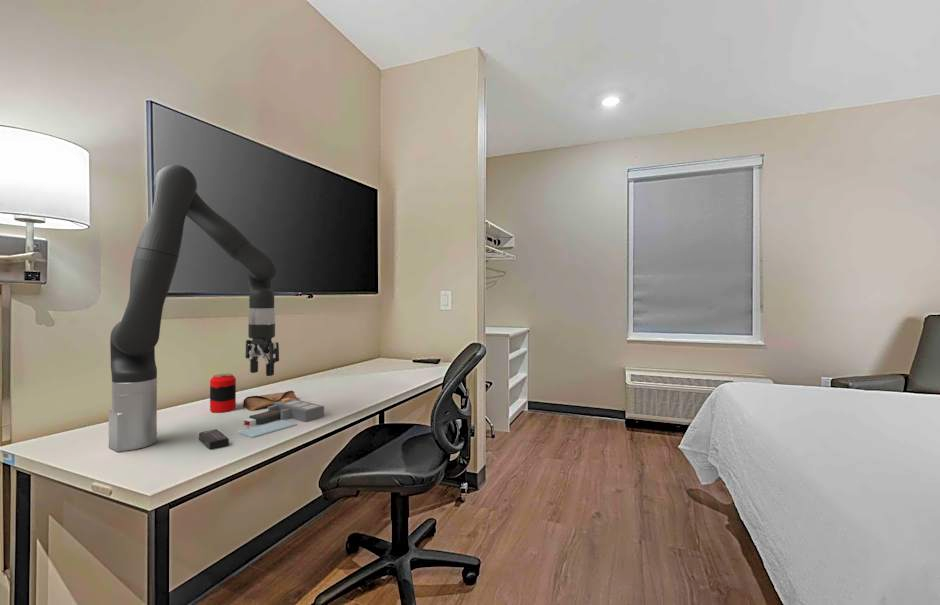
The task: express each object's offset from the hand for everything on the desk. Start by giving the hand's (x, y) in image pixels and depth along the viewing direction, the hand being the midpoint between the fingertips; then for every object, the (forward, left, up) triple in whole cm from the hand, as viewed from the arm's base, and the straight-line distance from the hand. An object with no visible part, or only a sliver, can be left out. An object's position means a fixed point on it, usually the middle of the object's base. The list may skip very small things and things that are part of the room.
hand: (261, 374), depth 130 cm
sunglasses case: (+14, +15, -16) cm, 26 cm away
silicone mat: (-3, -8, -15) cm, 18 cm away
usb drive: (+1, 0, -16) cm, 16 cm away
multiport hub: (-18, -7, -16) cm, 25 cm away
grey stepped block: (+9, -3, -15) cm, 18 cm away
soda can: (0, +23, -15) cm, 28 cm away
